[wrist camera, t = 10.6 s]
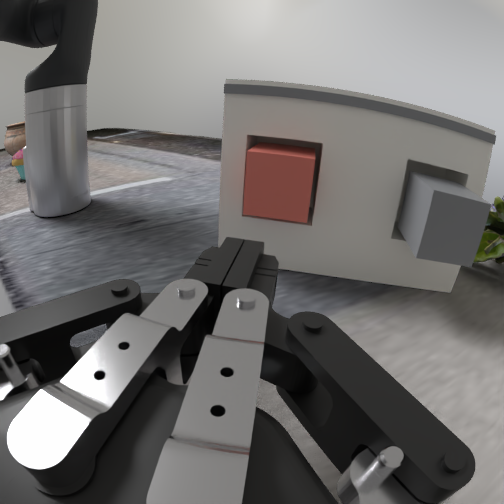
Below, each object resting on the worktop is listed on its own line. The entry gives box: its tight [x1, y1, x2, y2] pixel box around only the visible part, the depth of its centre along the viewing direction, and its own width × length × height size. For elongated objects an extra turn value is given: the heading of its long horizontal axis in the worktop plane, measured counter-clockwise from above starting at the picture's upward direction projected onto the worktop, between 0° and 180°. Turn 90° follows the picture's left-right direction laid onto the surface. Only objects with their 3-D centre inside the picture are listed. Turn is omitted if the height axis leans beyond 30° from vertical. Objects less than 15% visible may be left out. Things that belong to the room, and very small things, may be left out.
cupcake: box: [12, 148, 26, 180], centre depth 54 cm, size 9×8×12 cm
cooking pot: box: [4, 121, 26, 156], centre depth 74 cm, size 25×19×12 cm
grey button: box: [397, 171, 491, 267], centre depth 21 cm, size 5×6×5 cm
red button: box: [243, 142, 315, 223], centre depth 26 cm, size 5×6×5 cm
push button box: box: [218, 79, 496, 293], centre depth 28 cm, size 23×8×16 cm, turn 79°
